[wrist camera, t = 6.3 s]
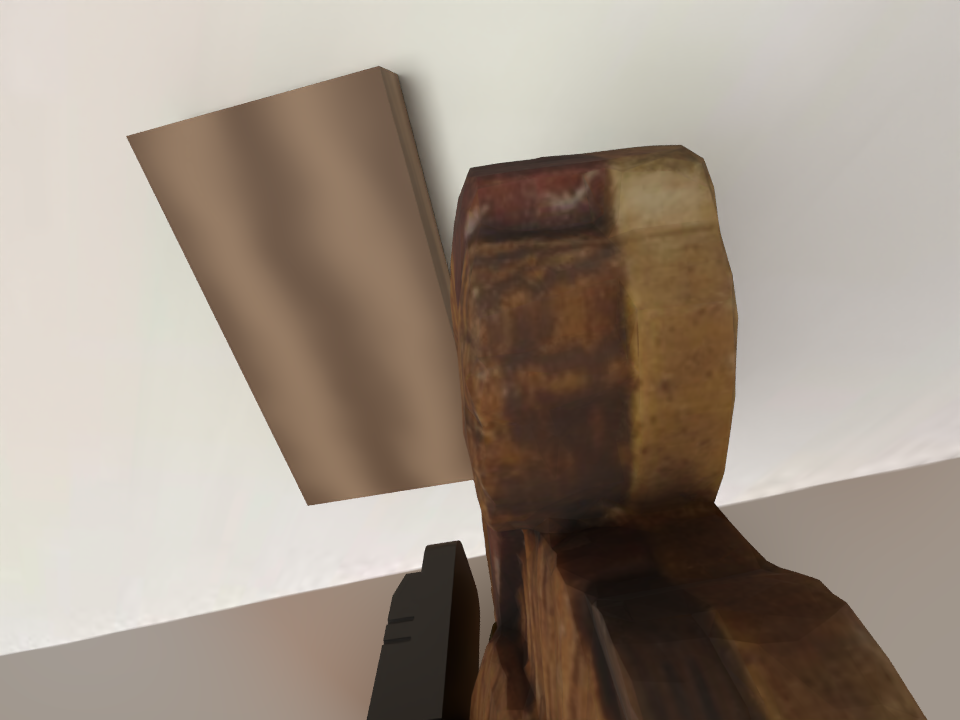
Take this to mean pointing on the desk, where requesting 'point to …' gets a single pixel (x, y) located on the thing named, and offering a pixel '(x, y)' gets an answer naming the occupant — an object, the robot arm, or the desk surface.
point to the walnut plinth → (324, 278)
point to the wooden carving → (626, 461)
